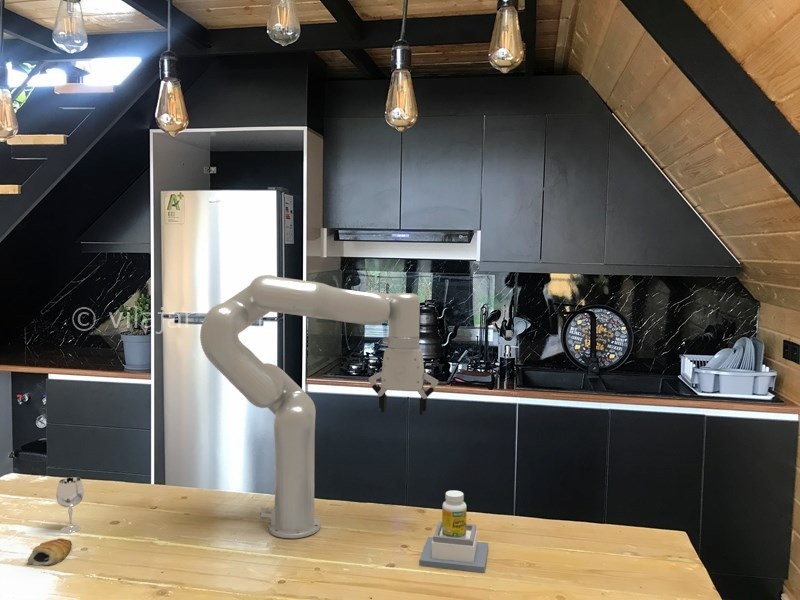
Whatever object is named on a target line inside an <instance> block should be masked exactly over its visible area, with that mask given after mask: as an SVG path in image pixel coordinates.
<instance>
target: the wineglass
mask: <svg viewBox="0 0 800 600" xmlns="http://www.w3.org/2000/svg"><path fill="white" fill-rule="evenodd" d="M83 498H84V485H83V483H82V479H81V478H80V477H79V476H78V477H73V476H70V477H65V478H62V479H60V480H59V481H58V484H57V488H56V502H57V503H58V505H59V506H61V507H64V508H67V512H68V513H67V514H68V519H69V522H68V525H67V526H64V527H62V528H61V529H60V530H59V531H60V533H61V534H71V533H77V532H78V531H80V530H81V529H82V527H81V526H80V525H77V524H73V522H72V517H73V511H74V509H73V507H75V506H77V505H78V504H80V503H81V502H82V501H83Z"/></svg>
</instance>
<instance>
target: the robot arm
mask: <svg viewBox="0 0 800 600" xmlns="http://www.w3.org/2000/svg"><path fill="white" fill-rule="evenodd" d="M420 308H421V303H420V297H419V295H418V294H416V293H410V292H409V293H407V292H402V293H401V292H400V293H399V292H397V293H383V292H379V291H378V292H377V291H368V292H364V291H358V290H357V291H356V290H353V289H352V290H350V289H344V288H339V287H335V286H331V285H328V284H326V283H322V282H319V281H318V282H317V281H310V280H309V281H308V280H302V279H295V278H289V277H279V276H275V275H272V274H264V275H260V276H257V277H256V278H254V279H253V280H252V281H251V282H250V284H249V285H248V286H247V287H245V288H243V290H240V291H239V292H238V293H237V294H234V295H233V296H232V297H230V298H229V299H227V300H226V301H224V302H222V303H219V304H218V303H217V304H216V305H214V306H213V307H212V308H211V309H209V311H207V313H206V315H205V316H204V319H203V320H202V323H201V327H200V334H199V335H200V336H199V340H200V345H201V348H202V351H203V353H204V355H205V357H206V358H207V359H208V361H209V362H210V363H211V365H213V367H214V368H216V369H217V370H218V371H219V372H220V374H222V375H223V376H224V377H225V378H226V379H227V381H228V382H229V383H230V384H231V385H233V386H234V388H235V389H237V390H238V391H239V392H240V393H241V394H242V396H243V397H244V398H245V399H246V400H247V401H248V402H249V404H251V405H253V406H254V407H256V408H259V409H266V408H267V409H268V410H269V411H270V412H271V413H272V414H273V415H275V416H274V419H273V420H274V422H273V437H274V438H273V441H274V507H273V508H270V507H266V506H265V507H264V506H261V508H260V509H259V515H260V519H262V520H264V519H265V520H267V519H268V520H269V523H268V525H267V529H268V532H269V533H270V534H271V535H273V536H275V537H278V538H281V539H299V538H305V537H309V536H312V535H313V534H315V533H317V532H318V531H319V530H321V525H322V524H321V520H320V519H319V518H318V517H317V516H315V441H316V440H315V437H316V436H315V431H316V413H317V412H316V405H315V403H314V401H313V399H312V398H311V397H310V395H308V393H307V392H305V390H303V389H302V388H301V387H300V385H298V384H297V382H295V381H294V380H293V378H291V376H289V375H288V374H287V373H286V372H285V371H284V370H283V369H282V368H280V367H279V366H277V365H275V364H273V363H268V362H266V363H264V362H263V361H261V360H260V359H259V357H257V356H256V355H255V353H254V352H252V350H250V348H249V347H247V346H246V345H245V344H244V343H243V342H242V341H241V340H240V338H239V334H240V333H242V332H243V331H244V330H246V329H247V328H249V327H250V326H252V325H253V324H255V323H256V322H257V321H259V320H260V319H262V318H263V317H264V316H266V315H268V314H269V313H278V314H279V313H280V314H285V315H286V314H288V315H294V316H295V315H296V316H301V317H308V318H314V319H320V320H323V319H324V320H330V321H331V320H332V321H339V322H343V323H350V324H351V323H352V324H359V325H368V326H379V325H382V324H384V323H385V322H386V321H388V336H387V337H384V338H382V344H385V345H386V346H387V347H388V348H387V347H386V348H384V352H383V358H382V368H381V371H379V372H378V373H375V374H373V375H372V376H369V378H368V381H369V384H370V385H371V387H372V390H374V392H375V393H376V394H377V396H378V400H379V401H378V408H379V409H380V413H385V412H386V411H387V410H388V409H387V406H388V402H387V401H388V395H387V394H386V392H387V391H399V392H400V391H401V392H417V393H418V395H420V398H419V415H420V416H423V415H424V414H425V412H426V411H428V410H427V409H428V397H429V396H430V395H431V394H432V393H434V391H435V389H436V387H437V386H438V384H439V379H436V378H435V377H433V376H431V375H429V374H428V373H426V372H425V368H424V367H425V366H424V364H425V363H424V357H423V350H422V349H421V348H420V313H421V312H420ZM380 378H381V379H380ZM378 379H380V380H381V386H380V385H379V384H378V382H377V380H378ZM425 381H427V382H428V383H430V386H429V387H428V389H426V388H425V387H424V386H425Z"/></svg>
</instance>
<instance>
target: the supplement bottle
mask: <svg viewBox="0 0 800 600" xmlns="http://www.w3.org/2000/svg"><path fill="white" fill-rule="evenodd" d="M444 495H445V498H444V499H445V501H443V503H442V510H441V511H442V512H441V513H442V515H441V516H442V520H441V521H442V534H443V536H447V537H457V538H464V537H465V536H466V524H467V504H466V502H465V501H464V498H465V494H464V492H462V491H460V490H457V489H456V490H448V491H446V492H445V494H444Z"/></svg>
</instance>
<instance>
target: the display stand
mask: <svg viewBox="0 0 800 600" xmlns="http://www.w3.org/2000/svg"><path fill="white" fill-rule="evenodd" d="M425 541H426V542H425V544H424V546H423V550H422V552H421V554H420V557H419V562H418V564H419V565H418V566H420V567H428V568H429V567H430V568H437V569H447V570H455V569H457V570H458V571H464V570H465V571H466V572H473V571H475V572H476V573H482V574H483V573H485V572H486V567H485V566H487V559H488V552H489V542H485V541H478V529H477V524H473V523H466V536H465V537H464V538H457V537H447V536H443V534H442V520H441V521H440V520H439V521H438V522H437V525H436V528H435V530H434V534H433V536H428V537H427V539H426V540H425ZM457 570H456V571H457Z"/></svg>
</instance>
